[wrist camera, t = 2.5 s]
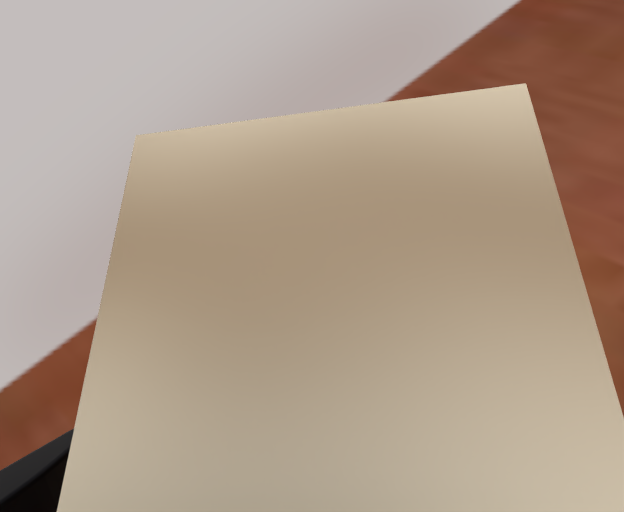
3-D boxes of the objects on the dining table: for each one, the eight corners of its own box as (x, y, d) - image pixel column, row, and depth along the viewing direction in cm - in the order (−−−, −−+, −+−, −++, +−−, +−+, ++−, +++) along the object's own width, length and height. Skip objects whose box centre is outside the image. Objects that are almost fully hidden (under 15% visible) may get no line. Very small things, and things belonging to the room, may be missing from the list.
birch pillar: (467, 515, 14) (676, 597, 3) (306, 515, 15) (42, 581, 4) (445, 354, 17) (525, 82, 6) (306, 361, 17) (135, 135, 6)
